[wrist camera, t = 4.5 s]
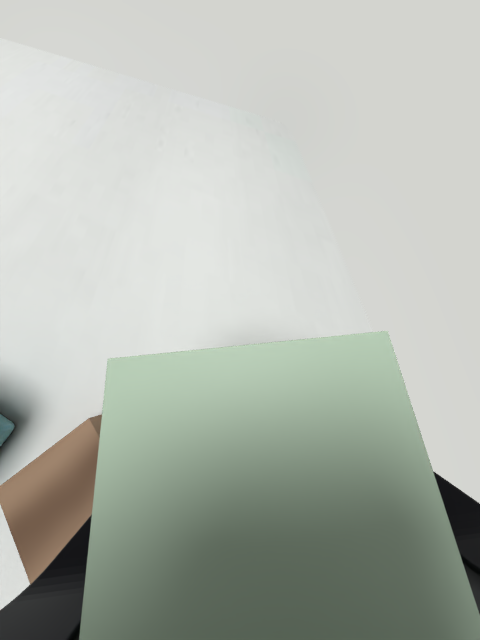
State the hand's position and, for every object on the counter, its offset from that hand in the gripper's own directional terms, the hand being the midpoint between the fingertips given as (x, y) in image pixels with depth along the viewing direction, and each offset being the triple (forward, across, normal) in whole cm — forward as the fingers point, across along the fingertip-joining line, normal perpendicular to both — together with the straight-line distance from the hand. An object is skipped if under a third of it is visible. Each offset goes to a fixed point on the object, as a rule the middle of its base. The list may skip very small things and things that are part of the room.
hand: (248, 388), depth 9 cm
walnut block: (+4, +15, +13) cm, 20 cm away
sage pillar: (+4, 0, +6) cm, 7 cm away
